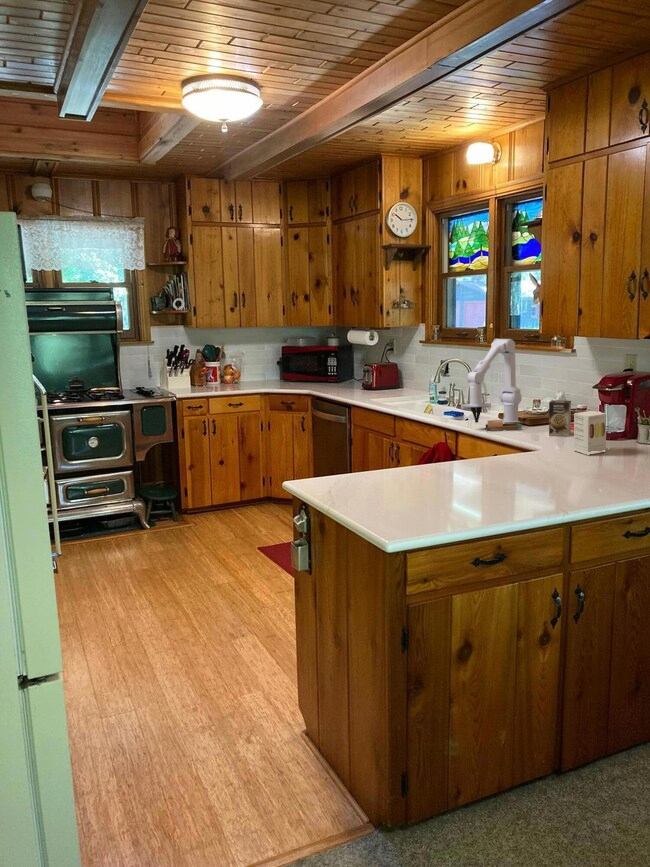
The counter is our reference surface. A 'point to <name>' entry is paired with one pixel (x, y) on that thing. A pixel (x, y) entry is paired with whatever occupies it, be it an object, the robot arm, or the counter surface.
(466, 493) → the counter surface
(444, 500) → the counter surface
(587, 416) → the supplement box
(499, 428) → the walnut chute
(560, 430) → the grey rectangular box
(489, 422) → the block
